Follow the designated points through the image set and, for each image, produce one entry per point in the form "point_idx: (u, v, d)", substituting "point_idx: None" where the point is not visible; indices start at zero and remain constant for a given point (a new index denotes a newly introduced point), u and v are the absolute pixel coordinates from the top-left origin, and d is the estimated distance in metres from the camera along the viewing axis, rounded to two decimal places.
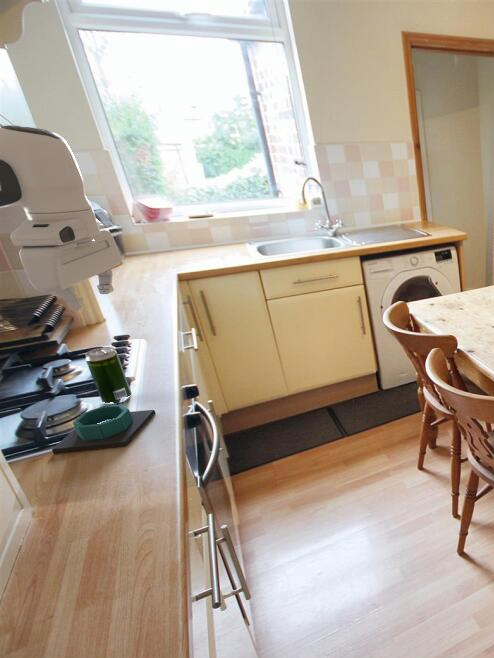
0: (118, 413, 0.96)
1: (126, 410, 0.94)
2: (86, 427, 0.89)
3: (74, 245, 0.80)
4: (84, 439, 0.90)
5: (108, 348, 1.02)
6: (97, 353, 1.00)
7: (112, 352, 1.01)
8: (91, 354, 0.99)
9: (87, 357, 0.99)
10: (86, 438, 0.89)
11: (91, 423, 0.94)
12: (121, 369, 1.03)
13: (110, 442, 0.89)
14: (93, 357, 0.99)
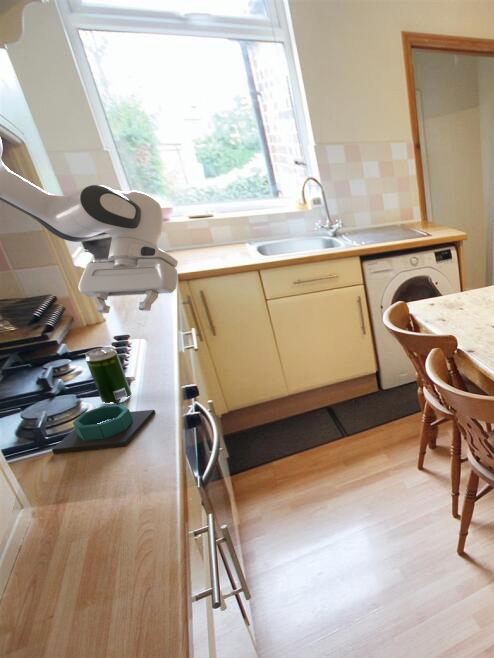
0: (118, 413, 0.96)
1: (126, 410, 0.94)
2: (86, 427, 0.89)
3: None
4: (84, 439, 0.90)
5: (108, 348, 1.02)
6: (97, 353, 1.00)
7: (112, 352, 1.01)
8: (91, 354, 0.99)
9: (87, 357, 0.99)
10: (86, 438, 0.89)
11: (91, 423, 0.94)
12: (121, 369, 1.03)
13: (110, 442, 0.89)
14: (93, 357, 0.99)
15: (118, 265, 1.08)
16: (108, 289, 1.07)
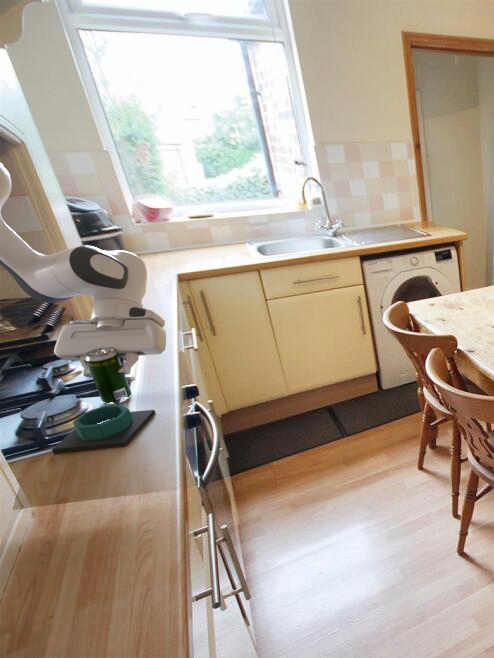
0: (118, 413, 0.96)
1: (126, 410, 0.94)
2: (86, 427, 0.89)
3: None
4: (84, 439, 0.90)
5: (108, 348, 1.02)
6: (97, 353, 1.00)
7: (112, 352, 1.01)
8: (91, 354, 0.99)
9: (87, 357, 0.99)
10: (86, 438, 0.89)
11: (91, 423, 0.94)
12: None
13: (110, 442, 0.89)
14: (93, 357, 0.99)
15: (103, 327, 1.03)
16: None
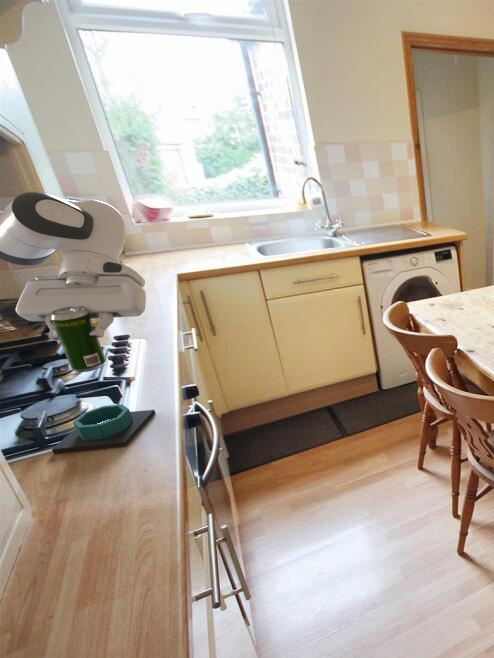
0: (118, 413, 0.96)
1: (126, 410, 0.94)
2: (86, 427, 0.89)
3: None
4: (84, 439, 0.90)
5: (78, 307, 0.89)
6: (65, 311, 0.87)
7: (82, 311, 0.88)
8: (58, 312, 0.87)
9: (53, 316, 0.86)
10: (86, 438, 0.89)
11: (91, 423, 0.94)
12: None
13: (110, 442, 0.89)
14: (60, 315, 0.86)
15: (72, 283, 0.91)
16: None
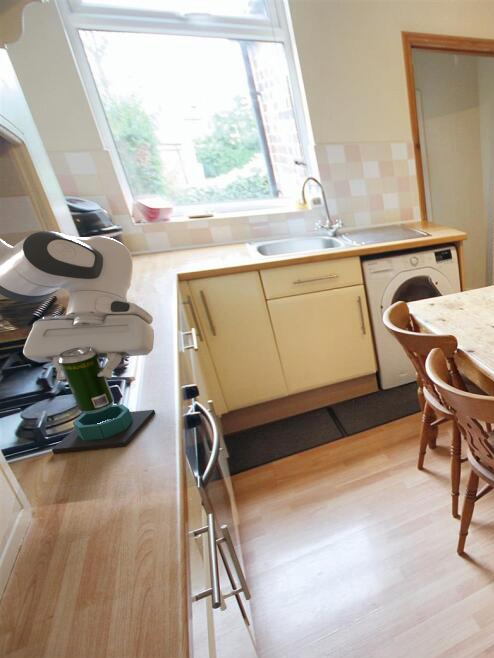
0: (118, 413, 0.96)
1: (126, 410, 0.94)
2: (86, 427, 0.89)
3: None
4: (84, 439, 0.90)
5: (86, 348, 0.88)
6: (72, 354, 0.86)
7: (90, 353, 0.87)
8: (65, 355, 0.85)
9: (60, 358, 0.85)
10: (86, 438, 0.89)
11: (91, 423, 0.94)
12: None
13: (110, 442, 0.89)
14: (67, 358, 0.85)
15: (80, 324, 0.90)
16: None
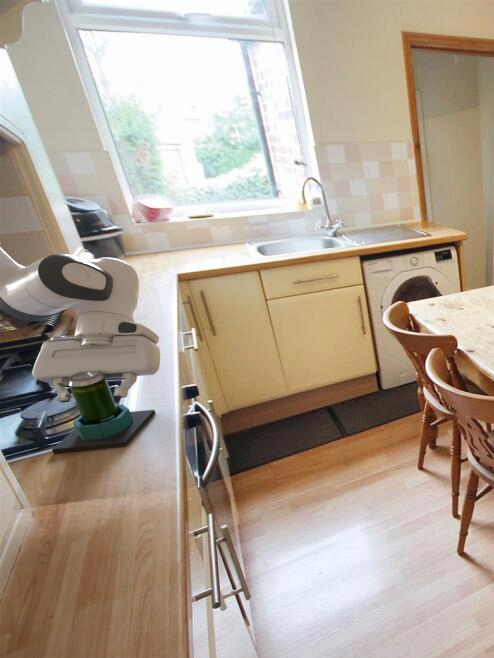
0: None
1: (126, 410, 0.94)
2: (86, 427, 0.89)
3: None
4: (84, 439, 0.90)
5: (95, 371, 0.90)
6: (82, 377, 0.88)
7: (99, 376, 0.89)
8: (75, 378, 0.87)
9: (70, 382, 0.87)
10: (86, 438, 0.89)
11: None
12: (110, 394, 0.91)
13: (110, 442, 0.89)
14: (77, 382, 0.87)
15: (88, 345, 0.91)
16: (73, 373, 0.90)
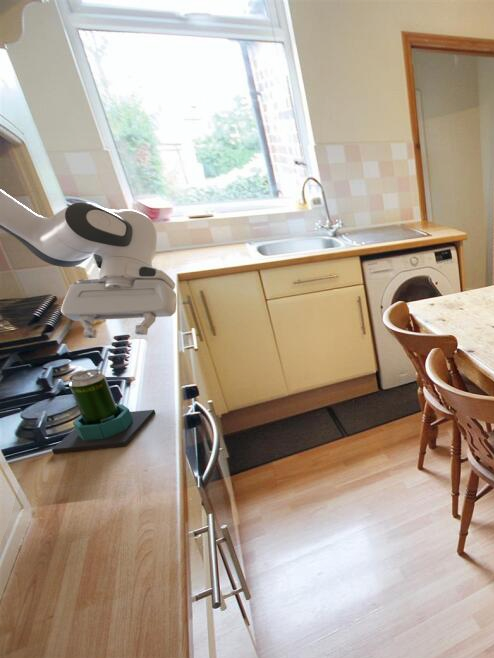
0: None
1: (126, 410, 0.94)
2: (86, 427, 0.89)
3: None
4: (84, 439, 0.90)
5: (95, 371, 0.90)
6: (82, 377, 0.88)
7: (99, 375, 0.89)
8: (75, 378, 0.87)
9: (70, 382, 0.87)
10: (86, 438, 0.89)
11: None
12: (110, 394, 0.91)
13: (110, 442, 0.89)
14: (77, 382, 0.87)
15: (111, 286, 1.00)
16: (98, 311, 0.98)
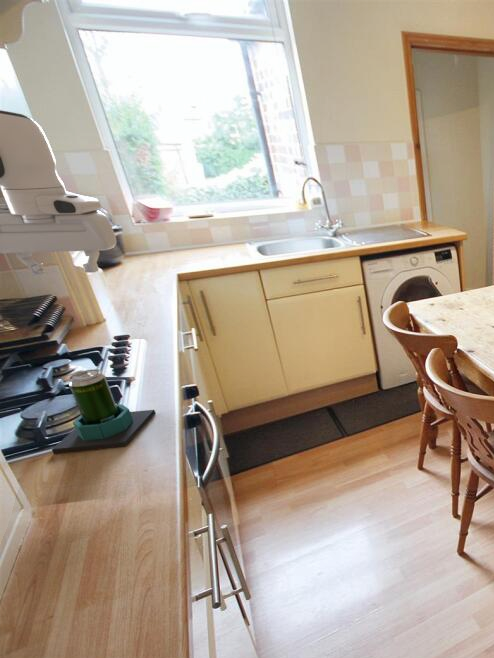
0: None
1: (126, 410, 0.94)
2: (86, 427, 0.89)
3: None
4: (84, 439, 0.90)
5: (95, 371, 0.90)
6: (82, 377, 0.88)
7: (99, 375, 0.89)
8: (75, 378, 0.87)
9: (70, 382, 0.87)
10: (86, 438, 0.89)
11: None
12: (110, 394, 0.91)
13: (110, 442, 0.89)
14: (77, 382, 0.87)
15: (31, 222, 0.89)
16: (33, 251, 0.91)
